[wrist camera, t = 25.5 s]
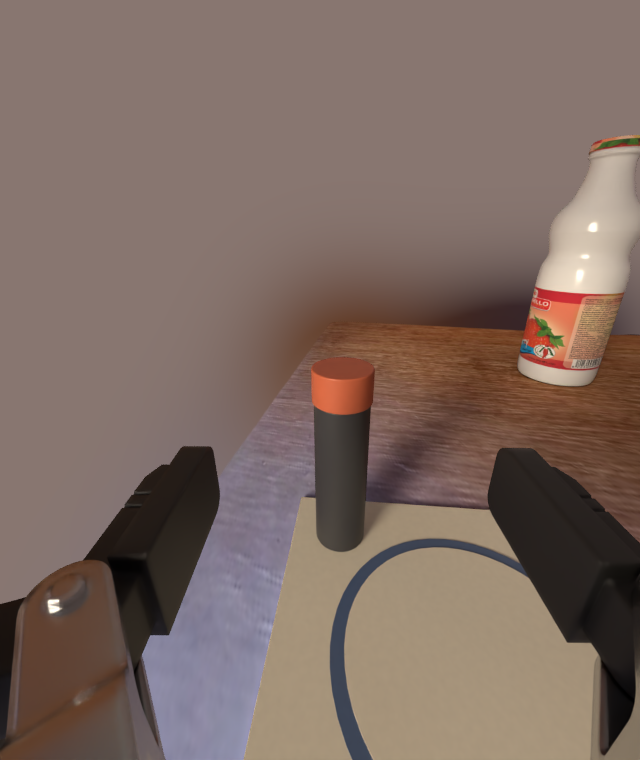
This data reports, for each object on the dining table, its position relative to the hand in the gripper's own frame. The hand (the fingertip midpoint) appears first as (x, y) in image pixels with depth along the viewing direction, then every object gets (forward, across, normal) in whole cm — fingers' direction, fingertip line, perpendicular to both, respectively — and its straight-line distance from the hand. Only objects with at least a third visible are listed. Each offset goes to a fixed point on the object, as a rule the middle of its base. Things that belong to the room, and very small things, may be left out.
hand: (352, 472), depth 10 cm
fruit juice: (+38, -32, +13) cm, 51 cm away
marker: (+9, 0, +12) cm, 15 cm away
